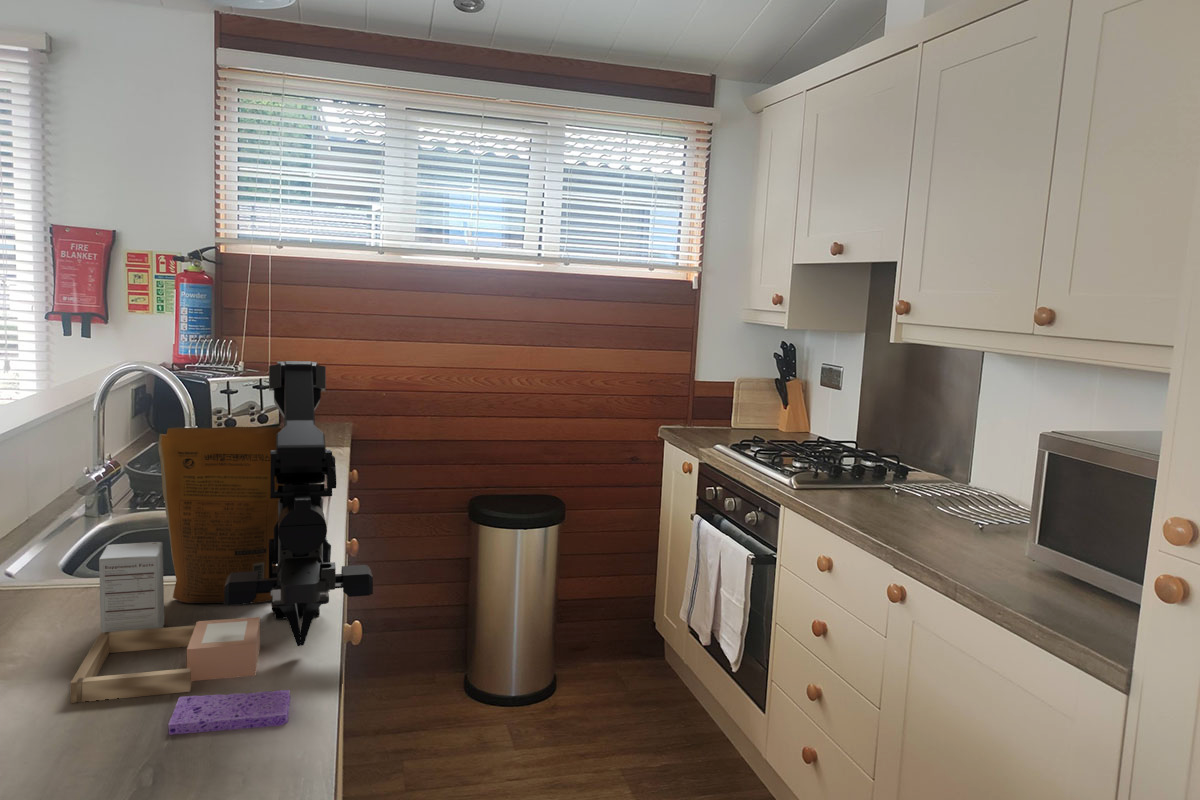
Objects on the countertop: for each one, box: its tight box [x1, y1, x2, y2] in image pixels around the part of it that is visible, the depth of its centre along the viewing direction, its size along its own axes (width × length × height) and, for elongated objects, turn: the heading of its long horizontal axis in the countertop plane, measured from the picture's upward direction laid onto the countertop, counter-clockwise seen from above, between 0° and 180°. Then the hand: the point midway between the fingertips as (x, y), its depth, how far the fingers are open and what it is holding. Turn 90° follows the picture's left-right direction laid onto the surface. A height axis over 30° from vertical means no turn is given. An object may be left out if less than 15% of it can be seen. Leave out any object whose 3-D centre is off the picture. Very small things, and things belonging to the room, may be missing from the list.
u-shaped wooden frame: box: [70, 624, 196, 704], centre depth 112 cm, size 13×16×2 cm
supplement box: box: [98, 541, 165, 633], centre depth 122 cm, size 7×7×13 cm
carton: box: [186, 616, 261, 682], centre depth 115 cm, size 8×10×5 cm
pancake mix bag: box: [157, 426, 284, 604], centre depth 138 cm, size 7×19×28 cm, turn 96°
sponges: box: [167, 689, 291, 736], centre depth 101 cm, size 7×13×2 cm, turn 106°
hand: (300, 645), depth 118 cm, fingers closed
